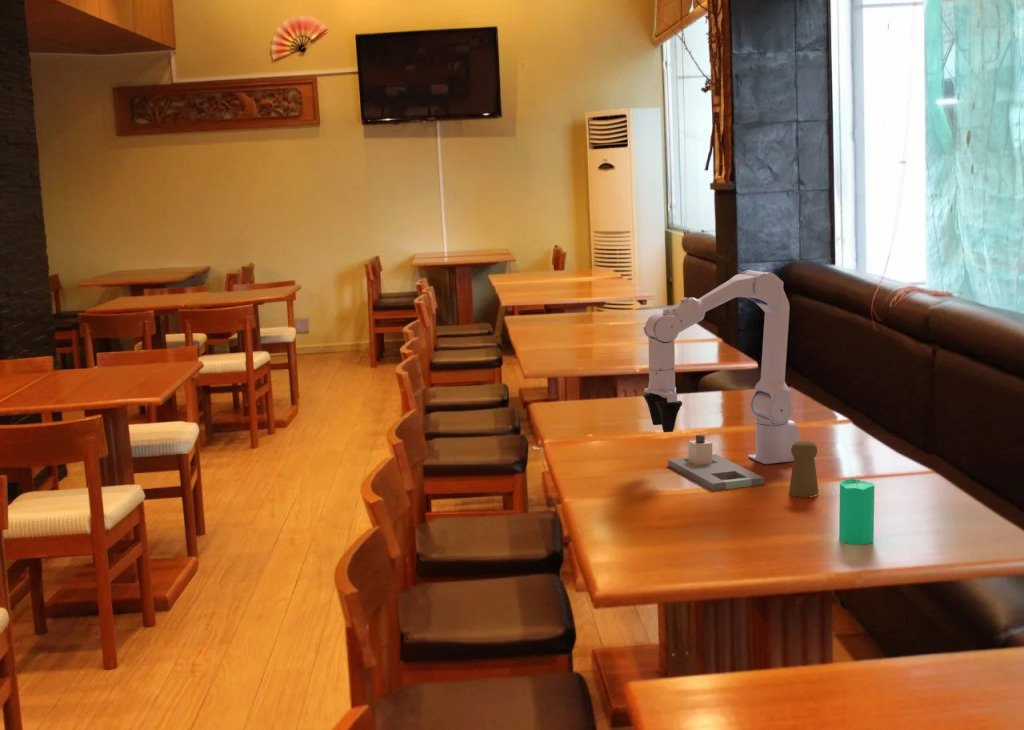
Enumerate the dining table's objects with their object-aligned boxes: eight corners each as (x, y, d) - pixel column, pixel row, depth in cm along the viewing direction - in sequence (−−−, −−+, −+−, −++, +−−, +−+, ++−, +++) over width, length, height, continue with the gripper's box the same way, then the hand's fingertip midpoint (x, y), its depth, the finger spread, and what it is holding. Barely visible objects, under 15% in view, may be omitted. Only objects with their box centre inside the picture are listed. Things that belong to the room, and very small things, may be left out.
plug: (704, 464, 264) (704, 433, 263) (712, 468, 260) (712, 436, 259) (688, 466, 263) (688, 434, 262) (696, 470, 259) (696, 438, 258)
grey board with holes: (715, 460, 268) (715, 454, 267) (763, 484, 246) (763, 477, 246) (668, 465, 264) (668, 459, 264) (712, 490, 243) (712, 483, 242)
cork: (819, 498, 234) (820, 445, 233) (789, 497, 236) (789, 445, 234) (818, 490, 240) (818, 438, 238) (788, 489, 241) (788, 438, 240)
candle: (834, 535, 210) (834, 471, 208) (865, 533, 211) (866, 470, 209) (846, 545, 204) (847, 480, 202) (879, 543, 205) (880, 478, 203)
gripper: (635, 364, 262) (636, 423, 264) (654, 374, 248) (655, 436, 250) (664, 362, 263) (665, 420, 265) (685, 372, 249) (686, 433, 251)
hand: (662, 428), depth 258 cm, fingers open, 7 cm apart
